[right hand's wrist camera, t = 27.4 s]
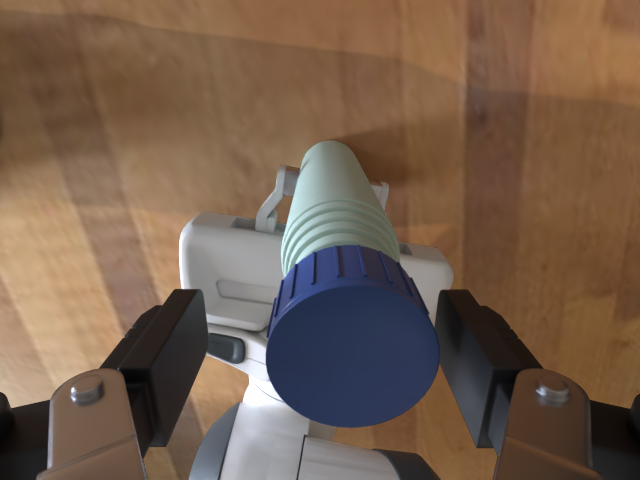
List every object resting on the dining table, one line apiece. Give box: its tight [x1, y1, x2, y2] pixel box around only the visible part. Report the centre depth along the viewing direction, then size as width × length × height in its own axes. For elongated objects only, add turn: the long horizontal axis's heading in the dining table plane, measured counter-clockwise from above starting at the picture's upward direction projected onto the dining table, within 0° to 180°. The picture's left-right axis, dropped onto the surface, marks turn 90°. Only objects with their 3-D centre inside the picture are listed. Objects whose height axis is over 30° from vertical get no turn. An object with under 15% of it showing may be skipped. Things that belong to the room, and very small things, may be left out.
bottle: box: [281, 140, 400, 277], centre depth 22 cm, size 5×5×25 cm
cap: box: [266, 245, 440, 428], centre depth 11 cm, size 5×5×3 cm
